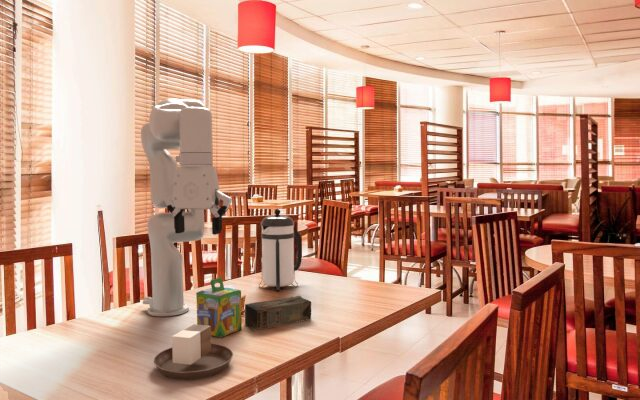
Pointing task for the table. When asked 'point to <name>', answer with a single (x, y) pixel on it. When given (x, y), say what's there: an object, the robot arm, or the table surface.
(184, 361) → the cream block
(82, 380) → the table surface
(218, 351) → the plant saucer
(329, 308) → the table surface
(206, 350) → the walnut block
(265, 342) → the table surface
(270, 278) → the coffee press
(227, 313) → the chalk box
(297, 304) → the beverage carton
